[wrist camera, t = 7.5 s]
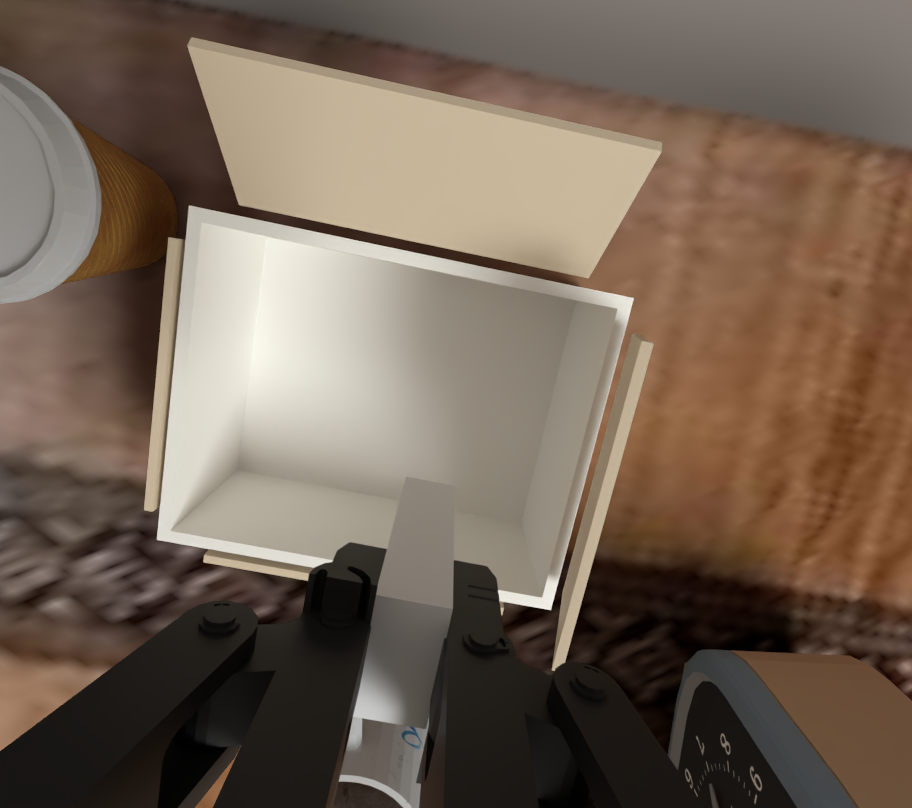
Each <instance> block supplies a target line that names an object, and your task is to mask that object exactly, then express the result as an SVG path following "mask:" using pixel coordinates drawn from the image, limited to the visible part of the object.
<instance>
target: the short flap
mask: <svg viewBox="0 0 912 808" xmlns="http://www.w3.org/2000/svg"><path fill="white" fill-rule="evenodd" d="M653 344H654V343H652V342H651V341H649V340H648V339H647V338H645V337H644V336H642V335H639V334H635V333H632V335H631V339H630V343H629V347H628V350H627V354H626V358H625V361H624V365H623V369H622V373H621V376H620V380H619V384H618V388H617V391H616V395H615V399H614V402H613V406H612V410H611V414H610V417H609V421H608V425H607V428H606V432H605V436H604V440H603V443H602V447H601V451H600V455H599V458H598V462H597V466H596V469H595V473H594V477H593V481H592V484H591V488H590V492H589V495H588V499H587V503H586V507H585V510H584V514H583V518H582V521H581V525H580V529H579V533H578V536H577V540H576V544H575V548H574V551H573V555H572V559H571V562H570V566H569V570H568V574H567V577H566V581H565V585H564V588H563V593H562V600H561V607H560V614H559V621H558V628H557V636H556V643H555V650H554V657H553V664H552V670H553V671H555V669H556V668H557V667H558V666H560V665H561V664H562V663H565V660H566V657H567V653H568V650H569V646H570V643H571V639H572V635H573V632H574V628H575V625H576V621H577V617H578V614H579V610H580V607H581V603H582V599H583V596H584V592H585V589H586V585H587V581H588V578H589V574H590V571H591V567H592V563H593V560H594V556H595V553H596V549H597V545H598V542H599V538H600V535H601V531H602V527H603V524H604V520H605V517H606V513H607V509H608V506H609V502H610V499H611V495H612V491H613V488H614V484H615V481H616V477H617V474H618V470H619V466H620V463H621V459H622V456H623V452H624V448H625V445H626V441H627V438H628V434H629V430H630V427H631V423H632V420H633V416H634V412H635V409H636V405H637V402H638V398H639V394H640V391H641V387H642V384H643V380H644V376H645V373H646V369H647V366H648V362H649V358H650V355H651V351H652V348H653Z"/></svg>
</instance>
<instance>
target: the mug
mask: <svg viewBox="0 0 912 808" xmlns="http://www.w3.org/2000/svg"><path fill="white" fill-rule="evenodd" d="M428 727H429V718H428V723H427V727H426V729H421V728H415V727H410V726H404V725H398V724H393V723H387V722H381V721H375V720H370V719H364V718H358V717H353V719H352V724H351V730H350V735H349V740H348V744H347V748H346V752H345V757H344V761H343V765H342V770H341V774H340V778H339V783H338V787H337V791H336V795H335V800H334V804H333V808H419V801H420V788H421V784H419V783H416V781H417V776H418V772H419V767H420V763H421V758H422V754H423V749H424V745H425V740H426V736H427V732H428Z"/></svg>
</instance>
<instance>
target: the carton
mask: <svg viewBox="0 0 912 808" xmlns="http://www.w3.org/2000/svg"><path fill="white" fill-rule="evenodd" d="M633 300H634V298H630V297H625V296H620V295H616V294H611V293H606V292H601V291H596V290H592V289H587V288H582V287H577V286H572V285H568V284H563V283H558V282H553V281H549V280H544V279H539V278H534V277H529V276H525V275H520V274H515V273H510V272H505V271H501V270H496V269H491V268H486V267H481V266H477V265H472V264H467V263H462V262H458V261H453V260H448V259H443V258H438V257H434V256H429V255H424V254H419V253H414V252H410V251H405V250H400V249H395V248H391V247H386V246H381V245H376V244H371V243H367V242H362V241H357V240H352V239H347V238H343V237H338V236H333V235H328V234H324V233H319V232H314V231H309V230H304V229H300V228H295V227H290V226H285V225H280V224H276V223H271V222H266V221H261V220H257V219H252V218H247V217H242V216H237V215H233V214H228V213H223V212H218V211H213V210H209V209H204V208H199V207H194V206H190V205H189V210H188V220H187V231H186V240H185V239H178V238H171V237H168V247H167V259H166V270H165V281H164V292H163V303H162V315H161V326H160V337H159V348H158V359H157V371H156V382H155V393H154V404H153V416H152V427H151V438H150V449H149V460H148V472H147V483H146V494H145V505H144V510H146V511H152V512H153V511H154V510H155V509H156V508H158V507H159V506H160V513H159V524H158V534H157V540H161V541H166V542H172V543H178V544H183V545H189V546H194V547H200V548H206V549H209V550H208V551H207V552H206V553H205V555H204V561H203V562H205V563H211V564H216V565H222V566H228V567H233V568H239V569H245V570H250V571H256V572H261V573H267V574H273V575H278V576H284V577H290V578H295V579H301V580H307V581H308V577H309V573H310V572H311V571H312V570H313V569H314V568H315V567H317V566H319V565H321V564H324V563H330V562H332V561H333V559H334V557H335V554H336V552H337V550H338V549H340V548H341V547H343V546H345V545H346V544H348V543H349V542H352V543H357V544H363V545H368V546H373V547H379V548H384V549H387V547H388V543H389V540H390V536H391V532H392V528H393V524H394V520H395V517H396V513H397V509H398V505H399V501H400V497H401V494H402V490H403V486H404V482H405V478H406V477H411V478H416V479H422V480H427V481H432V482H437V483H442V484H448V485H453V486H455V497H454V560H457V561H462V562H467V563H473V564H478V565H483V566H487V567H488V568H489V569H490V570H491V572H492V573H493V574H494V576H495V577H496V578H497V585H498V593H499V603H500V608H501V615H502V614H503V610H504V605H503V602H508V603H513V604H519V605H524V606H530V607H536V608H541V609H547V610H551V608H552V604H553V600H554V597H555V593H556V589H557V585H558V582H559V578H560V574H561V570H562V567H563V563H564V559H565V555H566V551H567V548H568V544H569V540H570V536H571V533H572V529H573V525H574V521H575V518H576V514H577V510H578V506H579V503H580V499H581V495H582V491H583V488H584V484H585V480H586V476H587V472H588V469H589V465H590V461H591V457H592V454H593V450H594V446H595V442H596V439H597V435H598V431H599V427H600V424H601V420H602V416H603V412H604V409H605V405H606V401H607V397H608V394H609V390H610V386H611V382H612V378H613V375H614V371H615V367H616V363H617V360H618V356H619V352H620V348H621V345H622V341H623V337H624V333H625V330H626V326H627V322H628V318H629V315H630V311H631V307H632V303H633Z"/></svg>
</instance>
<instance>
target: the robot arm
mask: <svg viewBox="0 0 912 808" xmlns="http://www.w3.org/2000/svg"><path fill="white" fill-rule="evenodd" d="M454 497H455V486H453V485H448V484H442V483H437V482H432V481H427V480H422V479H416V478H411V477H406V478H405V482H404V486H403V490H402V494H401V497H400V501H399V505H398V509H397V513H396V517H395V520H394V524H393V528H392V532H391V536H390V540H389V543H388V547H387V549H384V548H379V547H373V546H368V545H363V544H357V543H352V542H349V543H348V544H346V545H345V546H343V547H341V548H340V549H338V550H337V552H336V554H335V557H334V559H333V561H332V562H330V563H324V564H321V565H319V566H317V567H315V568H314V569H313V570H312V571H311V572H310V573H309V577H308V583H307V589H306V595H305V602H304V608H303V613H302V615H301V617H300V618H298V619H296V620H294V621H290V622H287V623H281V624H267V625H258V617H257V615H256V614H255V613H254V611H253V610H252V609H250V608H249V607H247V606H245V605H243V604H240V603H235V602H231V601H213V602H209V603H205V604H200V605H198V606H196V607H194V608H192V609H191V610H189V611H187V612H186V613H184V614H183V615H182V616H180V617H179V618H178V619H176V620H175V621H174V622H172V623H171V624H170V625H168V626H167V627H166V628H164V629H163V630H162V631H160V632H159V633H158V634H156V635H155V636H154V637H152V638H151V639H150V640H148V641H147V642H146V643H144V644H143V645H142V646H140V647H139V648H138V649H136V650H135V651H134V652H132V653H131V654H130V655H128V656H127V657H126V658H124V659H123V660H122V661H120V662H119V663H118V664H116V665H115V666H114V667H112V668H111V669H110V670H108V671H107V672H106V673H104V674H103V675H102V676H100V677H99V678H98V679H96V680H95V681H94V682H92V683H91V684H90V685H88V686H87V687H86V688H84V689H83V690H81V691H80V692H79V693H77V694H76V695H75V696H73V697H72V698H71V699H69V700H68V701H67V702H65V703H64V704H63V705H61V706H60V707H59V708H57V709H56V710H55V711H53V712H52V713H51V714H49V715H48V716H47V717H45V718H44V719H43V720H41V721H40V722H39V723H37V724H36V725H35V726H33V727H32V728H31V729H29V730H28V731H27V732H25V733H24V734H23V735H21V736H20V737H19V738H17V739H16V740H15V741H13V742H12V743H11V744H9V745H8V746H7V747H5V748H4V749H3V750H1V751H0V808H195V807H196V805H197V804H198V803H199V802H200V800H201V799H202V798H203V797H204V795H205V794H206V793H207V792H208V790H209V789H210V788H211V787H212V785H213V784H214V783H215V781H216V780H217V779H218V778H219V776H220V775H221V774H222V773H223V771H224V770H225V769H226V768H227V766H228V765H229V764H230V763H231V761H232V760H233V759H234V758H235V756H236V754H237V752H238V750H239V748H240V746H241V748H240V750H239V752H238V754H237V756H236V758H235V761H234V763H233V765H232V767H231V769H230V772H229V774H228V776H227V778H226V780H225V782H224V785H223V787H222V789H221V791H220V793H219V795H218V798H217V800H216V802H215V804H214V806H213V808H333V804H334V800H335V795H336V791H337V787H338V783H339V778H340V774H341V770H342V765H343V761H344V757H345V752H346V748H347V744H348V740H349V735H350V730H351V724H352V719H353V717H358V718H364V719H370V720H375V721H381V722H387V723H393V724H398V725H404V726H410V727H415V728H421V729H426V727H427V723H428V718H429V727H428V732H427V736H426V740H425V745H424V749H423V754H422V758H421V763H420V767H419V772H418V776H417V781H416V783H419V784H421V788H420V801H419V808H704V807H703V806H702V804H701V803H700V801H699V800H698V799H697V797H696V796H695V794H694V793H693V791H692V790H691V788H690V787H689V786H688V784H687V783H686V781H685V780H684V778H683V777H682V775H681V774H680V772H679V771H678V770H677V768H676V767H675V765H674V764H673V762H672V761H671V759H670V758H669V757H668V755H667V754H666V752H665V751H664V749H663V748H662V746H661V745H660V744H659V742H658V741H657V739H656V738H655V736H654V735H653V733H652V732H651V731H650V729H649V728H648V726H647V725H646V723H645V722H644V720H643V719H642V718H641V716H640V715H639V713H638V712H637V710H636V709H635V707H634V706H633V704H632V703H631V702H630V700H629V699H628V697H627V696H626V694H625V693H624V691H623V690H622V689H621V687H620V686H619V685H618V684H617V683H616V682H615V681H614V679H613V678H612V677H611V676H609V675H608V674H606V673H605V672H603V671H602V670H600V669H598V668H596V667H594V666H591V665H588V664H585V663H578V662H568V663H562V664H561V665H560V666H558V667H557V668H556V669H555V672H554V675H553V676H550V675H548V674H545V673H543V672H541V671H538V670H536V669H534V668H532V667H530V666H528V665H526V664H524V663H523V662H522V661H520V660H519V659H517V658H516V653H515V649H514V646H513V644H512V642H511V640H510V639H509V638H508V637H507V636H506V635H505V634H504V631H503V623H502V616H501V608H500V603H499V593H498V585H497V578H496V577H495V576H494V574H493V573H492V572H491V570H490V569H489V568H488V567H487V566H483V565H478V564H473V563H467V562H462V561H457V560H454Z"/></svg>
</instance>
